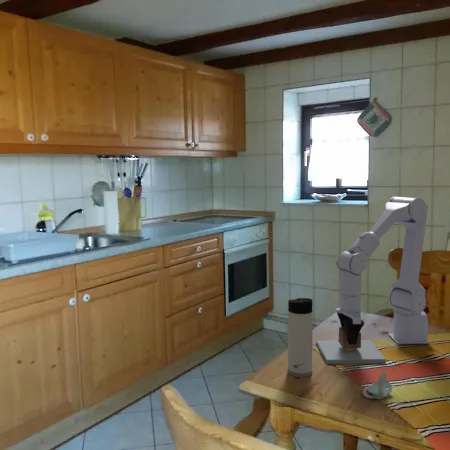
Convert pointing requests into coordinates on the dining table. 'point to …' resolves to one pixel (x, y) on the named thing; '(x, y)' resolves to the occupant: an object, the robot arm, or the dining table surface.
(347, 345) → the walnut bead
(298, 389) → the dining table surface
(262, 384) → the dining table surface
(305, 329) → the travel mug
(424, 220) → the robot arm
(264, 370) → the dining table surface
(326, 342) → the grey rectangular slab
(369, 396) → the pacifier
